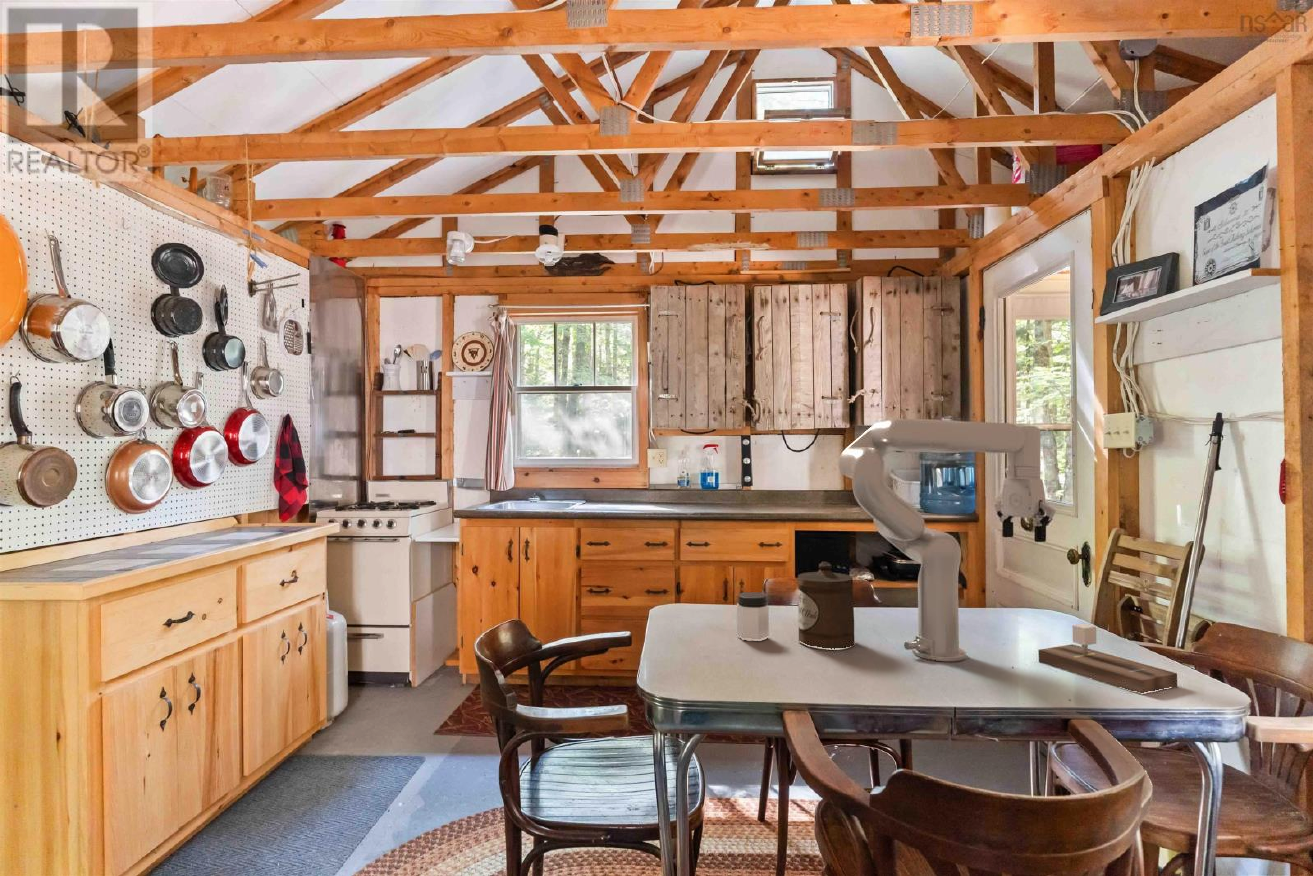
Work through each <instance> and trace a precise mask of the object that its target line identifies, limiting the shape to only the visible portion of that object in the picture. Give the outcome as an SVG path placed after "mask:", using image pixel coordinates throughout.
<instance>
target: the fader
mask: <svg viewBox="0 0 1313 876" xmlns="http://www.w3.org/2000/svg"><path fill="white" fill-rule="evenodd" d="M1072 643H1075V644H1077V645H1081V647H1082V654H1086V655H1087V654H1088V649H1089V647H1088V646H1090V645H1096V644H1097V626H1095V625H1090V624H1087V623H1081V624H1073V625H1072Z"/></svg>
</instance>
